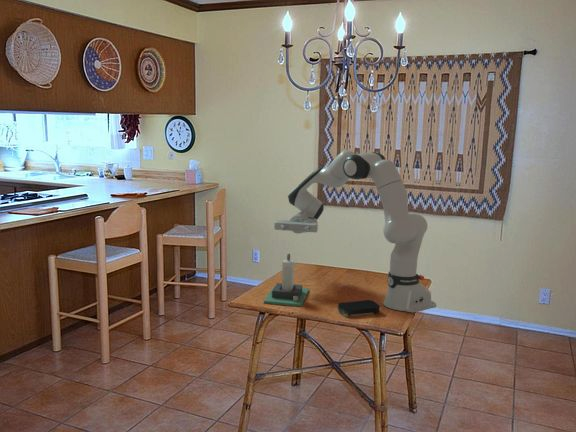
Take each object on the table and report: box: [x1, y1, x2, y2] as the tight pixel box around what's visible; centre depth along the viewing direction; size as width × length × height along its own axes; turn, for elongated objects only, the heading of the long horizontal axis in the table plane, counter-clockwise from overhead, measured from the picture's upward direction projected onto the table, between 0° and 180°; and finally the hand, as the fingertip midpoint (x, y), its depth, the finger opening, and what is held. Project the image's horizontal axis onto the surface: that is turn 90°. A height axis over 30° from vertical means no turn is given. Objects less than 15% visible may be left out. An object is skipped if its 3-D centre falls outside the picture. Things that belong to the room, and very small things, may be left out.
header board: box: [263, 282, 310, 307], centre depth 229 cm, size 22×16×4 cm
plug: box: [281, 253, 295, 292], centre depth 227 cm, size 5×4×18 cm
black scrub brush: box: [337, 299, 381, 318], centre depth 212 cm, size 16×8×4 cm, turn 108°
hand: (293, 229), depth 235 cm, fingers open, 8 cm apart
